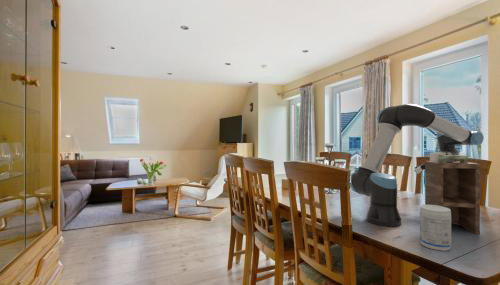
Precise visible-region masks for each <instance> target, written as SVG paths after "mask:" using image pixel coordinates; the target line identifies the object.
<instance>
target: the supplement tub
mask: <svg viewBox="0 0 500 285" xmlns="http://www.w3.org/2000/svg"><path fill="white" fill-rule="evenodd" d="M419 208H420V209H419V243H421V245H422V246H423V247H425V248H428V249H430V250H435V251H439V252H441V251H442V252H443V251H444V252H446V251H450V250H451V249H452V224H451V210H450V209H449V208H446V207H443V206H438V205H425V204H421V205H420V207H419Z"/></svg>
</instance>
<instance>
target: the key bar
mask: <svg viewBox="0 0 500 285" xmlns="http://www.w3.org/2000/svg"><path fill="white" fill-rule="evenodd" d="M438 155H446V153H439V152H429V161H438ZM455 160H456V159H445V161H446V162H455Z"/></svg>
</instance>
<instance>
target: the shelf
mask: <svg viewBox="0 0 500 285" xmlns="http://www.w3.org/2000/svg"><path fill="white" fill-rule="evenodd" d="M445 159H455V160H456V161H455V162H446V161H445ZM457 160H458V161H457ZM424 163H425V169H424V179H425V180H424V205H438V206H443V207H446V208H449V209H450V210H451V225H459V226H461V227H463V228H465V229H466V230H468V231H470V232H472V233H474V234H475V235H481V214H480V213H481V190H480V189H481V186H480V185H481V170H480V168H481V163H477V162H469V156H468V155H465V154H463V155H462V154H458V155H438V161H432V160H425V161H424Z"/></svg>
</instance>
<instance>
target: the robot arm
mask: <svg viewBox="0 0 500 285" xmlns="http://www.w3.org/2000/svg"><path fill="white" fill-rule="evenodd" d="M376 119H377V123H378V128H379V129H378V131H377V133H376V136H375V138H374V140H373V142H372V145H371V147H370V149H369V150H368V154H367V156H366V158H365V161H364V162H363V165H361V166H359V167H358V169H357V171H354V172H352V173H351V174H350V176H351V183H350V185H349V187H350V189H351V191H353V192H354V193H356V194H359V195H362V196H363V195H364V196H366V197H369V198H370V199H369V200H370V204H369V208H368V211H367V212H366V221H367V222H369V223H371V224H373V225H378V226H381V227H382V226H384V227H398V226H401V225H402V217H401V215H400V211H399V210H398V181H397V180H398V179H397V178H396V177H395V176H394V175H393V174H389V173H383V172H380V170H381V168H382V166H383V163H384V162H385V159H386V157H387V155H388V153H389V151H390V148H391V145H392V143H393V141H394V139H395V137H396V135H397V134H399V133H401V131H402V129H403V127H408V126H409V127H410V126H411V127H412V126H415V127H419V128H423V129H424V128H426V129H429V130H431V131H432V132H433V131H434V132H436V135H437V136H436V138H437V142H438V143H437V144H438V147H439V148H438V149H439V152H438V153H446V155H459V150H458V149H457V148H456V146H479V145H481V144H482V143H483V142H484V139H485V138H484V133H482V132H481V131H478V130H477V131H476V130H468V129H467V128H464V127H463V126H460V125H458V124H456V123H454V122H452V121H450V120H448V119H445V118H443V117H440V116H438V115H436V113H435V112H434V111H433V110H431V109H429V108H426V107H424V106H420V105H418V104H413V103H406V104H405V103H404V104H400V105H392V106H388V107H384V108H383V109H381V110H380V111H379V113H378V114H377V118H376ZM455 161H457V159H455ZM423 171H425V162H424V163H421V164H419V165H417V166H415V167H414V172H415V174H416V175H419V174H420V173H421V172H423Z"/></svg>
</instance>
